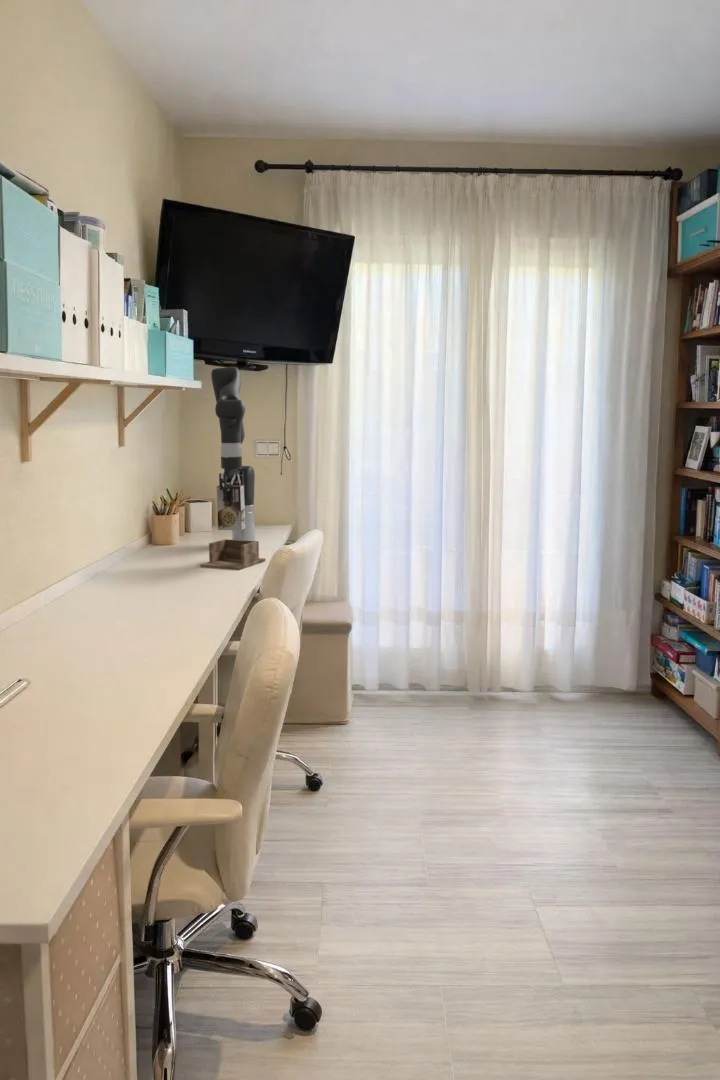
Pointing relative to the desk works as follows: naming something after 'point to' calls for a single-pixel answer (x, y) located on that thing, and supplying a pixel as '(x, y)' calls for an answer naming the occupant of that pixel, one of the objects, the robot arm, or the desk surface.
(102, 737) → the desk surface
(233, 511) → the coffee box
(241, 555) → the holder
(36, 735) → the desk surface
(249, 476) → the robot arm
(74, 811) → the desk surface
